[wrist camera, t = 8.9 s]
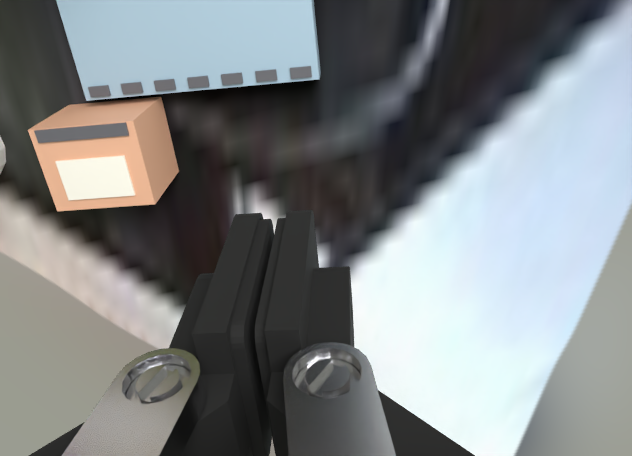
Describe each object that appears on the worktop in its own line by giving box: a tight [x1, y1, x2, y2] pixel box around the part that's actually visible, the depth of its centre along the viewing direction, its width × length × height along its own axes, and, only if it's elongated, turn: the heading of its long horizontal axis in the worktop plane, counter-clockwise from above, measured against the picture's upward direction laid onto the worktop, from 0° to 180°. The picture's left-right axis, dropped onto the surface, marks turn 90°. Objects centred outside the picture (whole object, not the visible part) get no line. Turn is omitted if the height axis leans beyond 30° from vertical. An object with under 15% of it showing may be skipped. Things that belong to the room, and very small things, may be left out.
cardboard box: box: [28, 97, 179, 211], centre depth 33 cm, size 5×6×5 cm
